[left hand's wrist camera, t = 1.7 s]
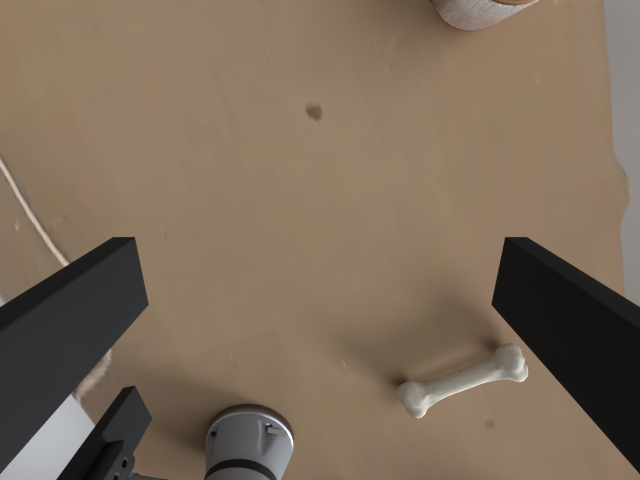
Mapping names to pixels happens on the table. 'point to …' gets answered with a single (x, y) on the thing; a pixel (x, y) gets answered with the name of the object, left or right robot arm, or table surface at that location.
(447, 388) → the dog toy
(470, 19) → the planter
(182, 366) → the table surface
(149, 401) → the table surface
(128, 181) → the table surface
